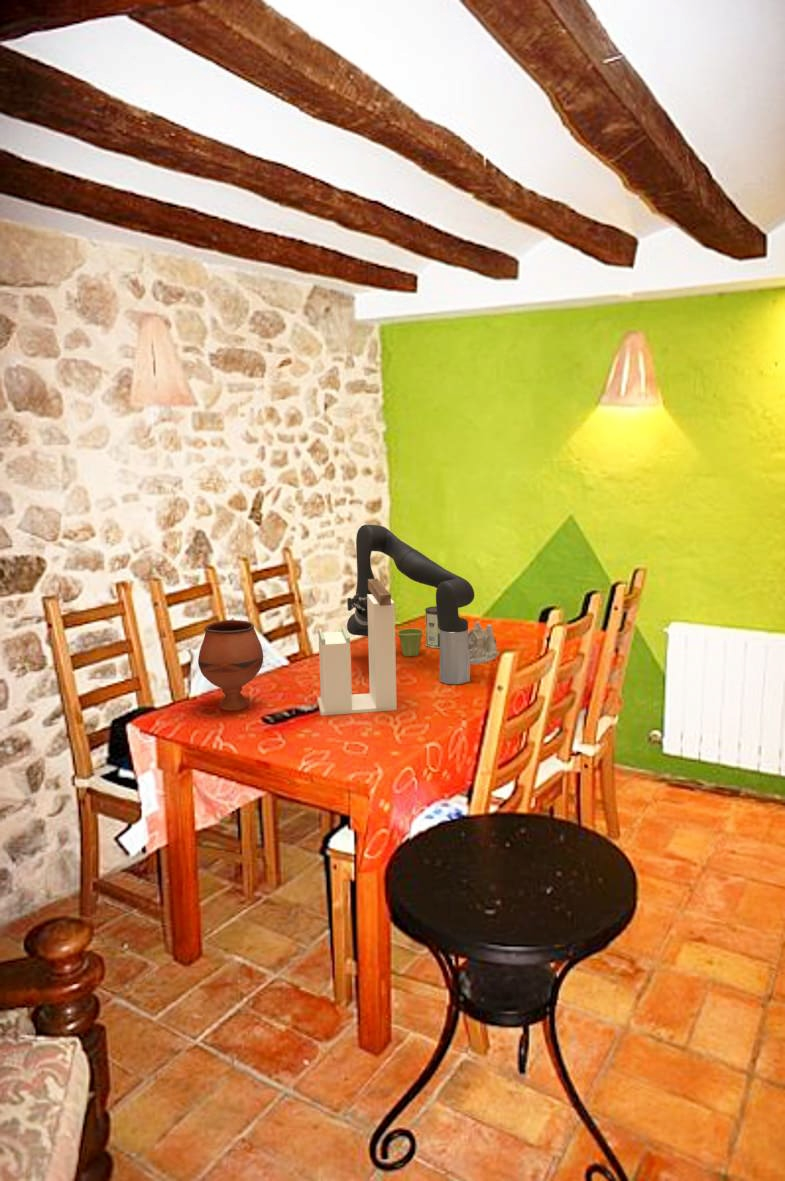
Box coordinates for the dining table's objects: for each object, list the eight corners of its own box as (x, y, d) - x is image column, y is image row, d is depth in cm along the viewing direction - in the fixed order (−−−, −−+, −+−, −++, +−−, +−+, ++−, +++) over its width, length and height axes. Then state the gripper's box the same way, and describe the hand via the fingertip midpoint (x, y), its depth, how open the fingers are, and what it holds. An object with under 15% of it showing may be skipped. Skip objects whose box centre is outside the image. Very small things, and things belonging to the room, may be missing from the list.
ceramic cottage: (506, 658, 286) (503, 616, 283) (471, 668, 276) (468, 625, 274) (477, 651, 298) (474, 612, 296) (443, 661, 289) (439, 620, 287)
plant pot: (413, 659, 286) (413, 636, 285) (392, 655, 292) (392, 632, 290) (428, 653, 294) (428, 630, 292) (407, 649, 299) (407, 627, 298)
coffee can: (454, 642, 310) (454, 606, 307) (450, 648, 300) (450, 612, 297) (427, 641, 312) (427, 605, 309) (423, 648, 302) (423, 611, 299)
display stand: (389, 695, 248) (386, 593, 242) (396, 710, 234) (394, 602, 228) (317, 700, 245) (313, 597, 238) (321, 715, 231) (316, 606, 225)
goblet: (214, 721, 228) (208, 636, 223) (192, 703, 244) (187, 623, 239) (276, 708, 238) (272, 626, 233) (251, 691, 254) (247, 614, 249)
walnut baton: (377, 588, 250) (377, 578, 250) (390, 605, 225) (390, 594, 225) (368, 588, 250) (367, 579, 249) (380, 605, 225) (380, 595, 224)
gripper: (344, 602, 270) (348, 585, 255) (386, 599, 273) (392, 583, 257) (346, 623, 268) (349, 608, 253) (388, 620, 270) (394, 605, 255)
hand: (371, 595), depth 255 cm, fingers open, 8 cm apart
